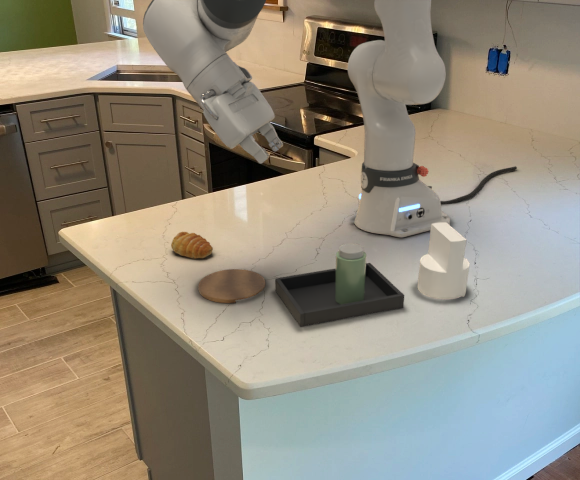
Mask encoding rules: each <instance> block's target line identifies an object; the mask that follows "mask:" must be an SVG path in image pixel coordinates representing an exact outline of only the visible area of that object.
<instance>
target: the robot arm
mask: <svg viewBox="0 0 580 480" xmlns="http://www.w3.org/2000/svg"><path fill="white" fill-rule="evenodd" d="M266 2H267V0H151V1H150V3H149V4H148V6H147V8H146V9H145V12H144V15H143V19H142V29H143V30H142V31H143V33H144V35H145V37H146V39H147V40H148V42H149V44H150V46H151V47H153V50H154V52H155V53H156V54H157V55H158V56H159V58H160V59H161V60H162V62H163V63H164V64H165V66H167V68H168V69H169V70H170V71H171V72H173V73H174V74H176V76H178V77H179V79H180V81H181V82H182V84H183V87H184V88H185V90H186V91H187V92H188V94H189V95H190V96H191V97H192V98H193V100H194V101H195V102H196V103H197V105H198V106H199V107H200V109H202V112H203V113H202V114H203V116H204V118H205V119H206V122H207V123H208V124H209V126H210V127H211V128H212V130H213V131H214V133H215V134H216V135H217V137H218V138H219V139H220V141H221V142H222V144H223V145H225V146H226V147H227V148H229V149H230V150H232V149H235V148H236V147H237V146H240V147H241V149H243V150H244V151H245V152H246V153H247V154H249V155H251V156H252V157H253V159H255V160H256V161H257V163H258V164H263V163H264V162H266V160H268V159H269V158H270V154H269V152H267V150H266V149H265V148H264V147H262V146H260V144H258V142H257V141H256V138H255V137H254V135H256V134H257V133H258V132H259V133H260V134H261V136H264V139H266V141H267V142H268V146H269V147H270V149H271V150H272V151H273V152H278V151H279V150H280V149H281V148H282V147H284V143H283V141H282V140H281V138H280V137H279V136H278V133H277V132H276V129H275V127H274V126H273V124H272V123H271V122H272V121H274V119H275V118H276V115H275V112H274V110H273V107H272V106H271V105H270V103H269V102H268V100H267V99H266V98H265V96H264V95H263V93H262V92H261V90H260V89H259V88H258V86H257V85H256V84H255V83H254V82H252V80H253V76H252V74H251V73H250V71H249V70H248V69H247V68H245V67H243V66H241V65H238V64H237V63H236V61H234V60H233V59H232V58H231V57H230V55H229V54H228V53H227V52H229V51H231V50H232V49H234V48H236V47H238V46H239V45H241V44H242V43H243V42H245V41H246V40H247V39H248V37H249V36H250V34H251V32H252V30H253V28H254V26H255V24H256V21H257V19H258V17H259V14H260V13H261V12H262V10H263V9H264V6H265V5H266ZM373 4H374V5H373V7H374V10H375V13H376V15H377V16H378V18H379V20H380V22H381V26H382V31H383V35H384V40H382V39H377V40H371V41H366V42H363V43H360V44H358V45H357V46H356V47H355V48H354V49H353V50H352V52H351V54H350V56H349V58H348V62H347V74H348V75H347V76H348V78H349V80H350V82H351V83H352V85H353V86H354V89H355V91H356V93H357V96H358V100H359V101H358V102H359V105H360V109H361V114H362V120H363V127H364V128H363V129H364V148H363V162H362V163H361V170H360V171H361V172H360V188H361V192H360V194H358V199H359V203H358V209H357V212H356V215H355V217H354V222H353V223H354V224H355V226H356V227H357V228H358V229H361V230H362V231H365V232H368V233H372V234H377V235H378V234H380V235H386V236H392V237H395V238H406V237H409V236H413V235H417V234H422V233H426V232H430V231H431V224H433V223H441V222H447V223H448V224H449V225H450V226H451V218H450V217H449V215H448V214H447V213H446V212H445V211H443V210H442V205H450V204H456V203H459V202H462V201H466V200H468V199H470V198H472V197H473V196H475V195H476V194H477V192H479V191H480V190H481V189H482V188H483V186H484V184H485V183H486V182H487V181H488V180H490V179H491V178H492V177H494V176H496V175H499V174H503V173H506V172H511V171H512V172H513V171H516V170H518V167H517V166H516V165H515V166H511V167H506V168H502V169H498V170H494V171H493V172H491V173H489V174H488V175H486V176H485V177H483V179H482V180H481V181H480V182H479V184H478V185H477V186H476V187H475V188H474V189H473V190H472V191H471V192H469V193H468V194H465V195H462V196H460V197H456V198H453V199H450V200H449V199H448V200H441V198H440V196H439V195H438V193H437V192H436V191H434V190H433V186H431V185H427V184H426V183H425V182H424V181H423V180H421V179H420V177H423V178H425V177H427V176H428V174H429V168H427V167H425V166H424V165H419V164H418V163H415V162H414V158H415V148H416V146H415V145H416V137H417V136H416V134H417V132H416V126H415V124H414V122H413V121H412V119H411V117H410V116H409V112H408V110H407V105H408V106H412V105H413V106H414V105H415V106H417V105H425V104H430V103H431V102H433V101H434V100H435V99H436V98H437V97H438V96H439V95H440V94H441V92H442V90H443V88H444V86H445V82H446V76H447V75H446V74H447V72H446V71H447V69H446V64H445V62H444V61H443V58H442V57H441V56H440V54H439V52H438V50H437V48H436V45H435V39H434V35H433V28H432V17H431V16H432V15H431V12H432V11H431V8H432V0H374V3H373ZM419 176H420V177H419Z"/></svg>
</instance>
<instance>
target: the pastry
mask: <svg viewBox="0 0 580 480" xmlns="http://www.w3.org/2000/svg"><path fill="white" fill-rule="evenodd" d="M170 247H171V250H172V251H174V253H175V254H178V255H179V256H182V257H186V258H190V259H204V258H207V257H208V256H210V255H212V253H213V250H214V248H213V246H212V245H211V243H210V242H209V241H208V240H207V238H204V237H203V236H202V235H201V234H197V233H195V232H188V231H180V232H178V233H177V234H176V235H175V236H174V237H173V239H172V241H171V243H170Z"/></svg>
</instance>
